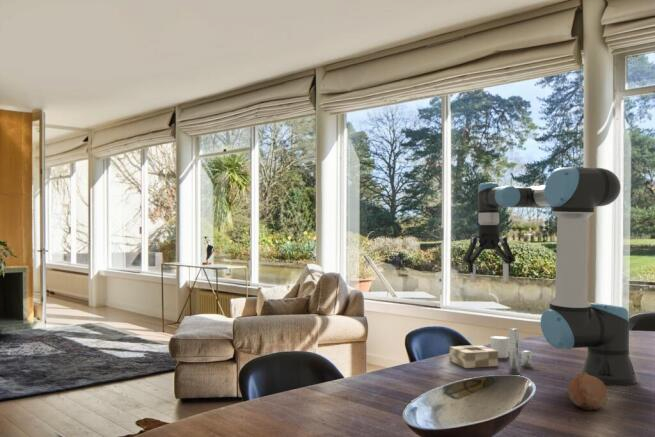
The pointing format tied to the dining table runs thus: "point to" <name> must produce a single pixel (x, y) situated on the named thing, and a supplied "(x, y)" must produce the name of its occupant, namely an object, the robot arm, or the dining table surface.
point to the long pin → (513, 350)
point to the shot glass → (500, 345)
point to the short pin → (526, 358)
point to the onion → (587, 391)
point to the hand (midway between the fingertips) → (489, 281)
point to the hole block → (473, 356)
